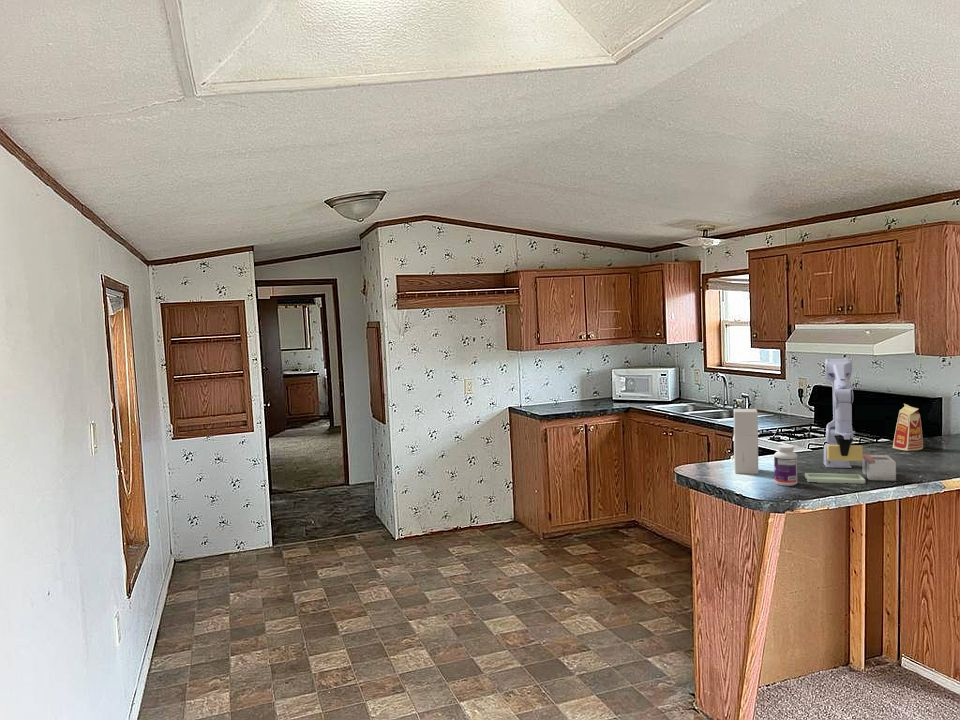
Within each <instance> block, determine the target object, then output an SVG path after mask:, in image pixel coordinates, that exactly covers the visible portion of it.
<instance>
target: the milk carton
mask: <svg viewBox="0 0 960 720" xmlns="http://www.w3.org/2000/svg"><path fill="white" fill-rule="evenodd" d="M903 405H904V406H903V407H902V408H901V409H899V411H898V417H897V422H896V426H895V431H894V438H893V442H892V449H895V450H901V451H907V452H908V451H920V450H923V449H924V440H923V429H922V420H921V414H920V412H919V411H918V410H919V408H918V407H914V406H910V405H909V404H906V403H903Z"/></svg>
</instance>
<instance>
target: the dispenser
mask: <svg viewBox="0 0 960 720" xmlns="http://www.w3.org/2000/svg"><path fill="white" fill-rule="evenodd" d="M861 462H862V463H861V465H862V468H861V470H862V471H861V472H862V474H863V475H864V476H866V478H867V479H868V480H869V481H889V482H890V481H894V482H895V481H897V462H896V461H895V460H894V459H893V458H892V457H891V456H889V455H888V454H868V453H863V461H861Z"/></svg>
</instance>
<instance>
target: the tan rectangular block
mask: <svg viewBox="0 0 960 720" xmlns="http://www.w3.org/2000/svg"><path fill="white" fill-rule="evenodd" d="M863 448H864V447H863V445H860V444H859V445H858V444H857V445H855V444H851V445H850V448H849V452H848V456H841V452H840V446H839V445H827V459H828V460H841V461H849V462H850V461H852V462H862V461H863V454H864V453H863V451H864V450H863Z"/></svg>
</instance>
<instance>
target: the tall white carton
mask: <svg viewBox="0 0 960 720" xmlns="http://www.w3.org/2000/svg"><path fill="white" fill-rule="evenodd" d="M758 415H759V413H758V410H757V408H733V469H734V473H735V475H736V474H741V475H742V474H743V475H744V474H746V475H747V474H748V475H758V474H759V426H758V425H759V421H758V420H759V417H758Z"/></svg>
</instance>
